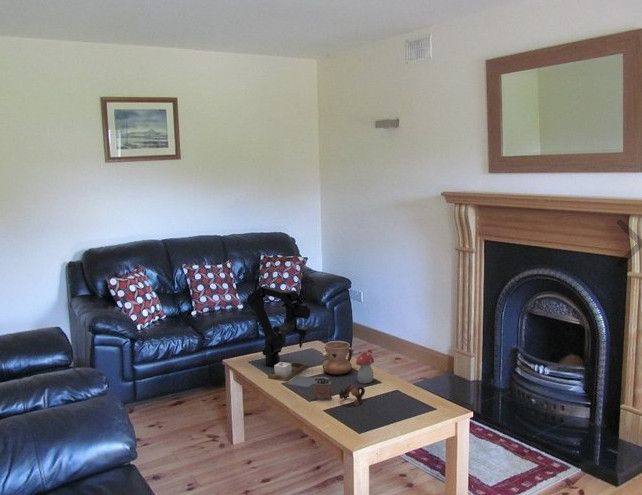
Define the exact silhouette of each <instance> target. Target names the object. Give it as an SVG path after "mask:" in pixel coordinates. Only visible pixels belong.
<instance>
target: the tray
mask: <svg viewBox="0 0 642 495" xmlns="http://www.w3.org/2000/svg"><path fill="white" fill-rule="evenodd" d="M286 363H291V369H292V373H291V374H290V375H288V376H287V377H286V376H279V375H275V370H272V371H271V372H270V373H268V374H267V378H268V380H269V379H270V380H275V381H281V382H289V381H290V380H292V379H293V378H295V377H296V376H298V375H299V374H301V373H302V372H303V371H306V369H307V370H308V363H303V362H302V363H301V362H294V361H287V362H286Z"/></svg>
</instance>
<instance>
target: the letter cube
mask: <svg viewBox="0 0 642 495" xmlns="http://www.w3.org/2000/svg"><path fill="white" fill-rule="evenodd" d="M273 368H274V371H275V375H279V376H286V377H287V376H288V375H290V374H291V373H292V369H291V363H287V362H284V361H280V362H279V363H278V364H276V365H274V367H273Z"/></svg>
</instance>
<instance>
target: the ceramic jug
mask: <svg viewBox="0 0 642 495" xmlns="http://www.w3.org/2000/svg"><path fill="white" fill-rule="evenodd" d="M350 346H351V345H350V343H349V342H347V341H342V340H331V341H328V342H325V344H324V350H325V351H324V352H323V353H322V356H323V357H325V356H327V358H328V359H326V360H325V361H323V364H322V369H323V371H324V372H326V373H327V374H330V375H336V376H337V375H343V374H344V375H345V374H347V373H349V372H350V371H351V370H352V369H353V368H352V367H353V365H352V363H351V360H352V357H353V354H354V352H353V349H352V347H350Z"/></svg>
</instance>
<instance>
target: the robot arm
mask: <svg viewBox="0 0 642 495" xmlns="http://www.w3.org/2000/svg"><path fill="white" fill-rule="evenodd" d="M267 296H268V297H271V298H276V299H279V300H280V301H281V302H283V303H282V304H281V307H282V308H284V312H285V314H284V315H285V318H284V320H283V323H282V324H281V323H279V324H276V325H274V326H272V324H271V321H270V320H269V316H268V314H267V311H266V310H265V298H266V297H267ZM246 302H247V304H248V306H249V307H250V309H252V310H253V311H254V312H255V314H256V316H257V320H258V322H259V324H260V327H261V330H262V331H263V334H264V336H265V339H264V345H265V347H264V348H263V350H262V355H263V356H264V358H265V364H263V366H264V367H270V368H274V365H276V364H278V363H279V362H281V358H280V353H282V349H283V346H286V341H287V340H286V337H287V336H288V335H290V334H291V333H298V336H297V337H298V338H299V339H298V342H299V343H298V345H299V348H300V349H301V348H302V347H303V344H304V340H305V339H306V337H307V336H308V335H310V334H311V333H312V331H311V330H312V329H311V328H310V327H308V326H302V327H300V328H299V326H300V325H299V324H298V320H299V319H303V320H307V319H309V318H310V316H311V310H310V308H309V307H308V304H304V303H303V301H302V299H301V297H300V295H299V294H298V292H297V290H295V289H288V290H286V289H284V290H283V289H280V288H276V287H272V286H269V285H265V284H264V285H261V286H259V287H257V289H256V290H254V291H253V292H251V294H248V296H247V298H246ZM286 335H287V336H286Z"/></svg>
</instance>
